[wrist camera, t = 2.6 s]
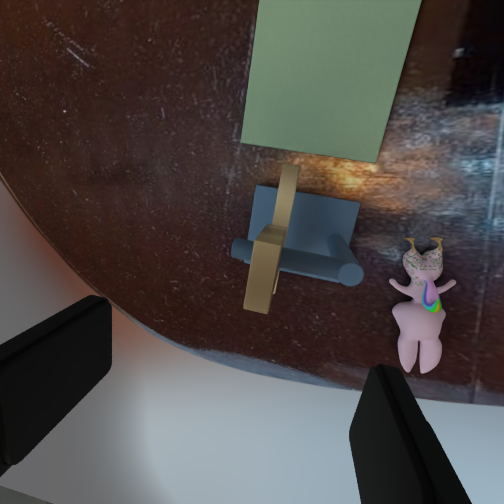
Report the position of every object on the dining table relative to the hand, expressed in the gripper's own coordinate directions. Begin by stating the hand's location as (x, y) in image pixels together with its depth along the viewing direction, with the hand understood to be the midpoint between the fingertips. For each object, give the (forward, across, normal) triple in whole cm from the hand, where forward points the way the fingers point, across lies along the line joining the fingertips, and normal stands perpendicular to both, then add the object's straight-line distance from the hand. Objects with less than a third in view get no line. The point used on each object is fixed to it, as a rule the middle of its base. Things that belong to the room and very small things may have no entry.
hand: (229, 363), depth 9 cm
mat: (+22, -1, -19) cm, 29 cm away
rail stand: (+23, -2, 0) cm, 23 cm away
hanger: (+20, 0, 0) cm, 20 cm away
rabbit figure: (+23, -16, +4) cm, 28 cm away
